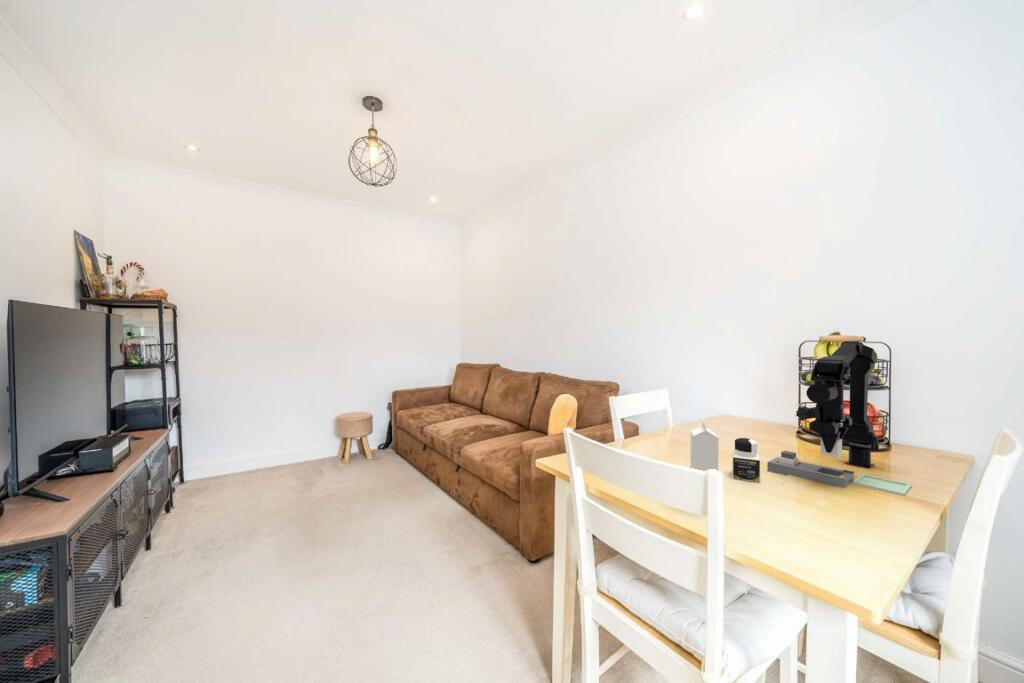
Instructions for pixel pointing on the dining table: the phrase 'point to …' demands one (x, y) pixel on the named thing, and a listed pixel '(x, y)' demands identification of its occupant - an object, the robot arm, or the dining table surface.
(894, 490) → the parts tray
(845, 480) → the grey socket board
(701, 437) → the milk
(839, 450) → the plug
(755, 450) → the medicine bottle
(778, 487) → the dining table surface
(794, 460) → the twin plug
